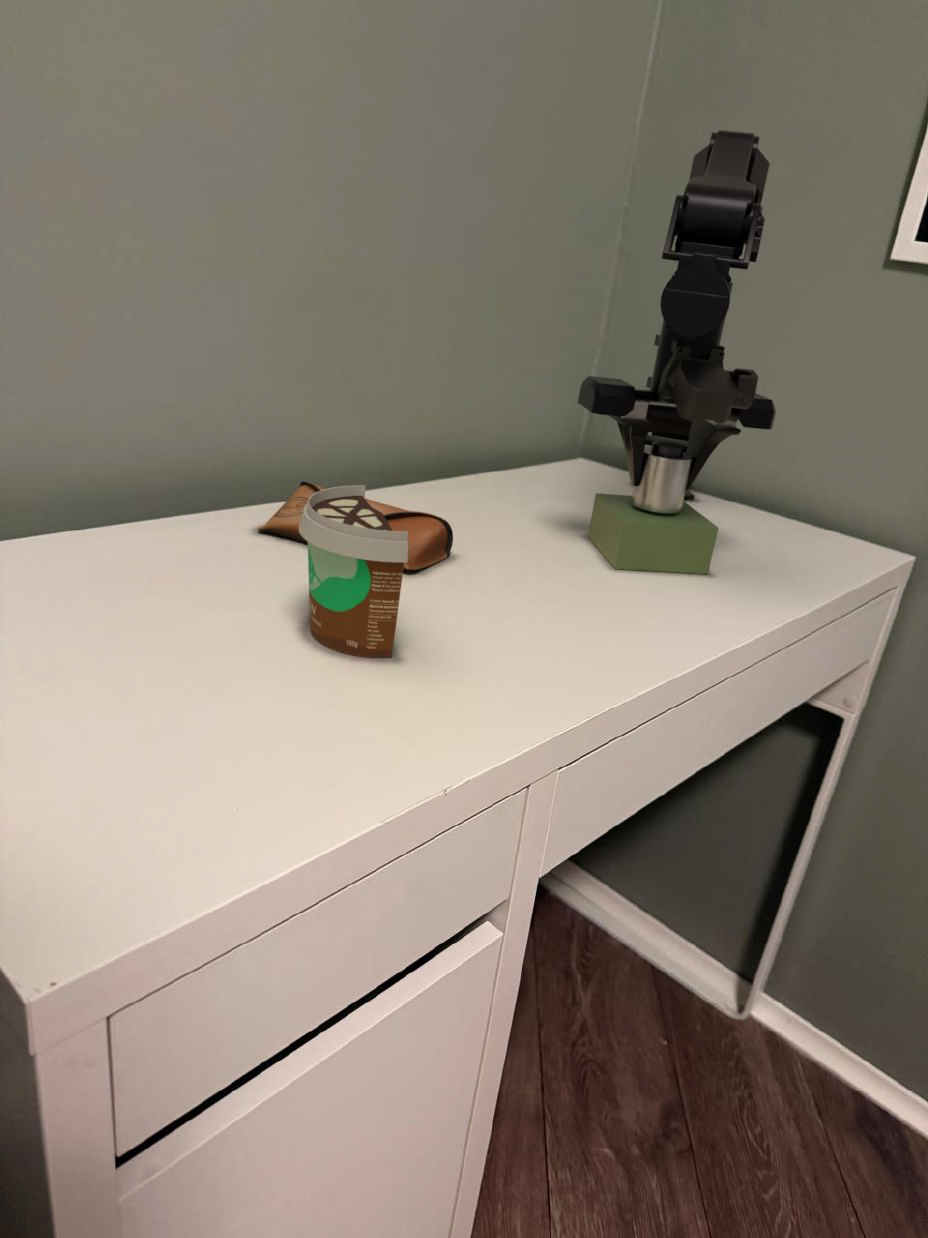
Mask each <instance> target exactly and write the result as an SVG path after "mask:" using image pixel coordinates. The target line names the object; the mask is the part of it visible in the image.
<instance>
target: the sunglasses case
mask: <svg viewBox="0 0 928 1238" xmlns="http://www.w3.org/2000/svg"><path fill="white" fill-rule="evenodd" d="M325 489H326V488H324V487H323V486H319V485H317V484H315V483H313V482H310V481H301V482H300V484H299V488H297V489H296V490H295V491H294V492H293V494H291V495H290V497H289V498H288V499H287V500H286V501H285V502H284V503H283V504H282V505H281V507H279V508H278V510H276V511H275V513H274V514H273V515H272V516H271V517H270V519H268V521H266V523H265V524H264V525H262V526H258V527H257V530H258V531H262V532H267V533H272V534H276V535H280V536H284V537H287V538H291V539H294V540H296V541H299V542H302V543H306V544H308V541H307V540H305V539H304V538H303V537H302V536H301V534H300V532H299V530H298V529H299V524H300V520H301V516H302V513H303V509H304V507H305V505H306V504H307V503H308V499H309V498H310V496H311V495H313V494H314V493H316V492H319V491H321V490H325ZM365 500H366V501H367V502H368V503H369V504H370V505H371V507H373V508H374V509H376V510H378V511H380V512H381V513H382V514H383V515H384V517H385V518H386V520H387V522H388V524H389V526H390V527H391V529H392V530H393V531H408V536H407V541H408V563H404V568H403V570H405V571H415V572H416V571H419V570H423V569H427V568H430V567H432V566H434V565H436V564H438V563H440V562H442V561H444V560H446V559H447V558H449V555H450V553H451V551H452V547H453V543H454V532H453V529H452V526H451V525H450V523H449V522H448V521H447V520H446V519H444V518H442V517H441V516H438V515H435V514H431V513H428V512H424V511H414V510H407V509H403V508H400V507H397V506H394V505H390V504H387V503H384V502H380V501H379V502H378V501H376V500H372V499H369V498H365Z"/></svg>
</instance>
